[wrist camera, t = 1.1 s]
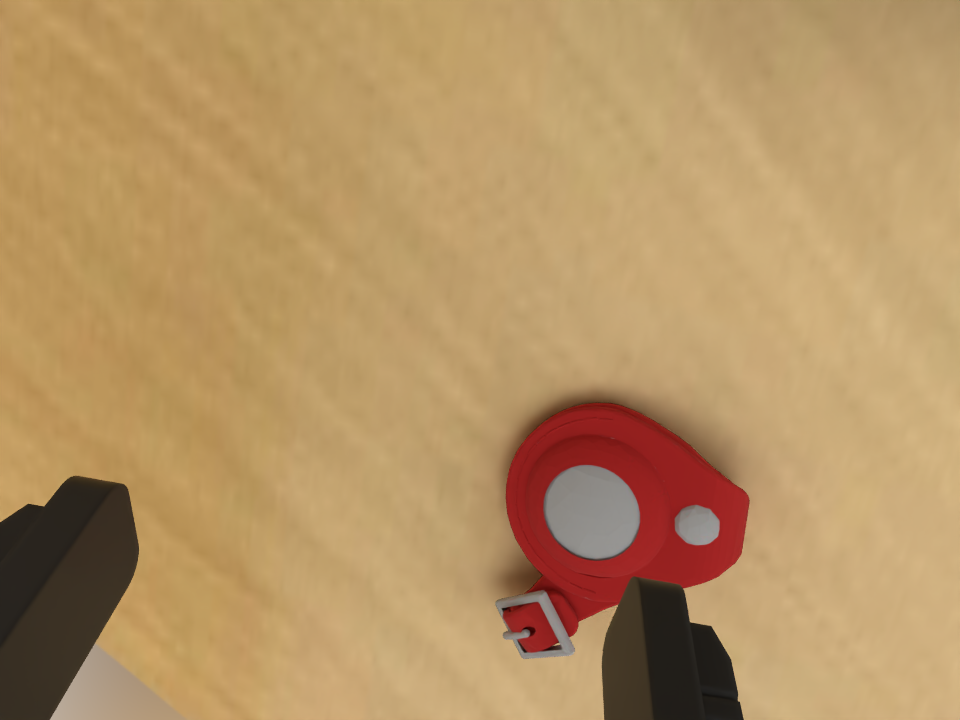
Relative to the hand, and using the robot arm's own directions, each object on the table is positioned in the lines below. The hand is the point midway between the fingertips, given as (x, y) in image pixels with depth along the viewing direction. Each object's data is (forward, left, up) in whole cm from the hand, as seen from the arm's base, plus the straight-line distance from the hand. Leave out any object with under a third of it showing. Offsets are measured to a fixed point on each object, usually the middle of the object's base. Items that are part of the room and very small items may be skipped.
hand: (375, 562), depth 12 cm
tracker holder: (+5, +10, -18) cm, 22 cm away
